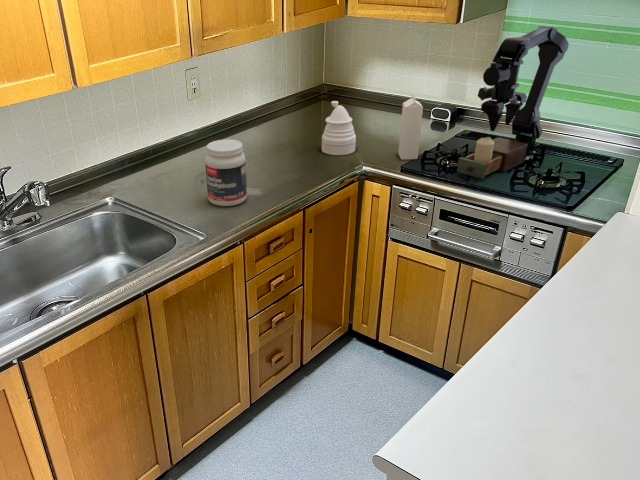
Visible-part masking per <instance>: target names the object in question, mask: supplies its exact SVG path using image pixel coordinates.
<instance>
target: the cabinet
mask: <svg viewBox="0 0 640 480" xmlns="http://www.w3.org/2000/svg"><path fill="white" fill-rule="evenodd" d="M492 140H493V141H494V148H493V153H495V154H500V155H504V157H503V163H502V168H500V169H498V170H496V171H497V172H499V173H505V172H507V171H509V170H511V169H513V168H515V167H518V166H519V165H521V164H524V163H525V160H526V156H527V155H526V151H527V146H528V144H527V143H522V142H518V141H514V139H509V138H503V137H500V136H498V137H496V138H493V139H492Z"/></svg>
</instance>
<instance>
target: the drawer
mask: <svg viewBox="0 0 640 480" xmlns="http://www.w3.org/2000/svg"><path fill="white" fill-rule="evenodd" d="M474 156H475V152H474V153H471V154H469V155H467V156H464V157H462V156H460V157H459V158H458V160H457V166H456V167H457V168H456V173H460V174H464V175H467V176H471V177H475V178H478V179H482V180H483V179H485V178H486V176H487V175H490V174H491V173H494V172H496V171H497V170H498V169H500V168H502V163H503V157H504V155H500V154H495V153H492V159H491V160H490V161H488V162H486V163H481V162H477V161H474Z"/></svg>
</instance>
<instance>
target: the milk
mask: <svg viewBox="0 0 640 480" xmlns="http://www.w3.org/2000/svg"><path fill="white" fill-rule="evenodd" d="M401 108H402V109H401V119H400V132H399V141H398V142H399V143H398V156H399V158H400V160H401V161H402V160H403V161H404V160H418V159H419V151H420V141H421V133H422V132H421V131H422V124H423V123H422V122H423V113H424V106H423V105H422V104H421V102H420V101H418V100H416V96H415V95H414V94H413V93H412V94H411V98H409V99H407V100H406V101H403V102H402V107H401Z"/></svg>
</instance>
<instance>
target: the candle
mask: <svg viewBox="0 0 640 480" xmlns="http://www.w3.org/2000/svg"><path fill="white" fill-rule="evenodd" d="M493 148H494V141H493V139H492V137H490V136H486V137H480V138H479V139H478V140H476V143H475V151H474V153H475V156H474V161H477V162H481V163H486V162H488V161H490V160H491V159H492V153H493Z"/></svg>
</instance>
